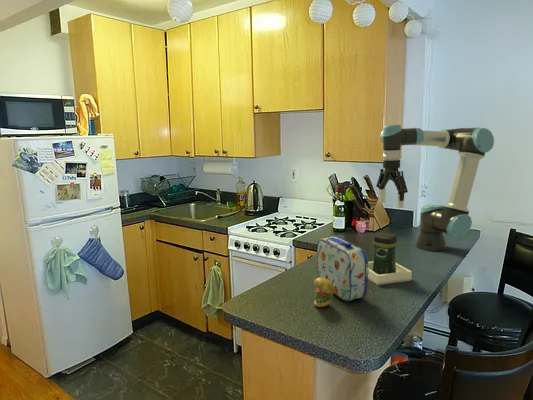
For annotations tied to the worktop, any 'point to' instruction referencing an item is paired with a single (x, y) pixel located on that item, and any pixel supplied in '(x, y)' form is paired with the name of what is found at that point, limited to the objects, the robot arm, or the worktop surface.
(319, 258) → the lunch box
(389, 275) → the caddy
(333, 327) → the worktop surface
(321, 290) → the hamburger
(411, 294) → the worktop surface
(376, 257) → the coffee jar
